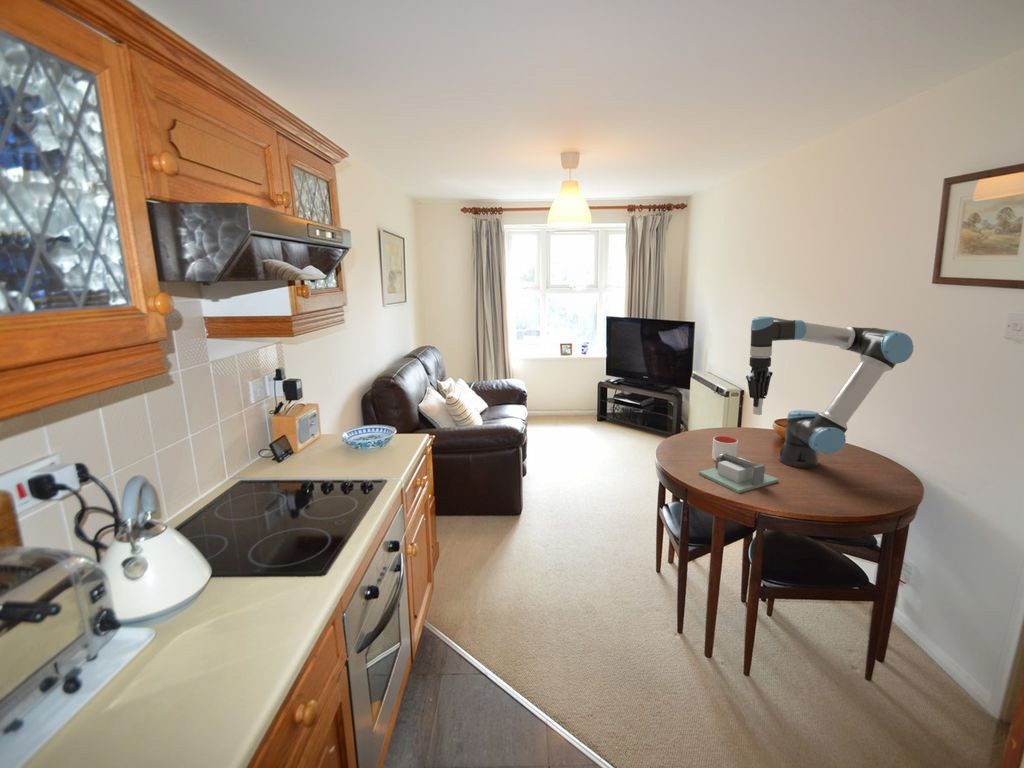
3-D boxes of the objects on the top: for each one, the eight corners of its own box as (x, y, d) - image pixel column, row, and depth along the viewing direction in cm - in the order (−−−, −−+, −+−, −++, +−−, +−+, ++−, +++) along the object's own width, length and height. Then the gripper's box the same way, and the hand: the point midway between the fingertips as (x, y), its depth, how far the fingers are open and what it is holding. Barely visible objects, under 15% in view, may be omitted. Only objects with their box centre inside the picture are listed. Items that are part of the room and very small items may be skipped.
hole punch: (736, 464, 211) (738, 446, 209) (778, 481, 194) (780, 461, 192) (698, 474, 202) (700, 455, 201) (738, 493, 185) (740, 472, 183)
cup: (737, 466, 210) (739, 444, 208) (712, 463, 213) (714, 442, 211) (734, 457, 219) (736, 436, 217) (711, 455, 222) (712, 435, 220)
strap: (725, 455, 205) (725, 452, 205) (760, 466, 190) (760, 464, 190) (718, 457, 203) (718, 454, 203) (752, 468, 188) (752, 466, 188)
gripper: (762, 353, 196) (759, 409, 201) (740, 357, 190) (738, 414, 195) (780, 355, 189) (776, 413, 194) (757, 359, 183) (754, 419, 189)
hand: (757, 414), depth 195 cm, fingers closed
